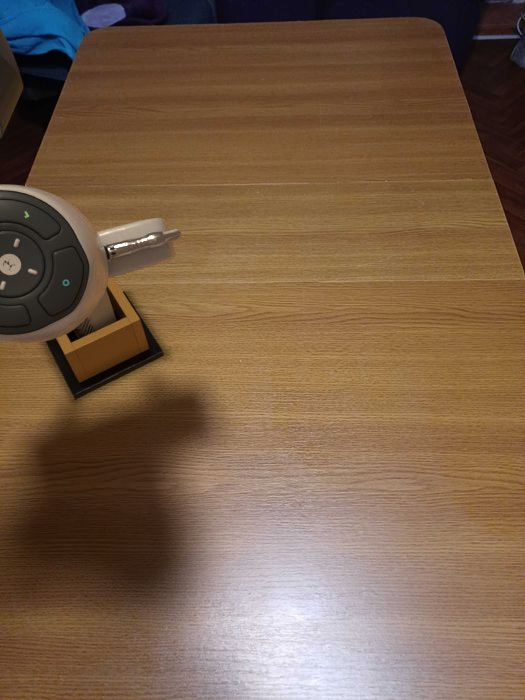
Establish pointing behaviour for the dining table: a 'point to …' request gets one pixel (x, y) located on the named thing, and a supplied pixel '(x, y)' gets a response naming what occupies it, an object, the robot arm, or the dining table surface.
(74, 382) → the open wooden box
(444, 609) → the dining table surface
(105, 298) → the box
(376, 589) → the dining table surface
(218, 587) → the dining table surface
